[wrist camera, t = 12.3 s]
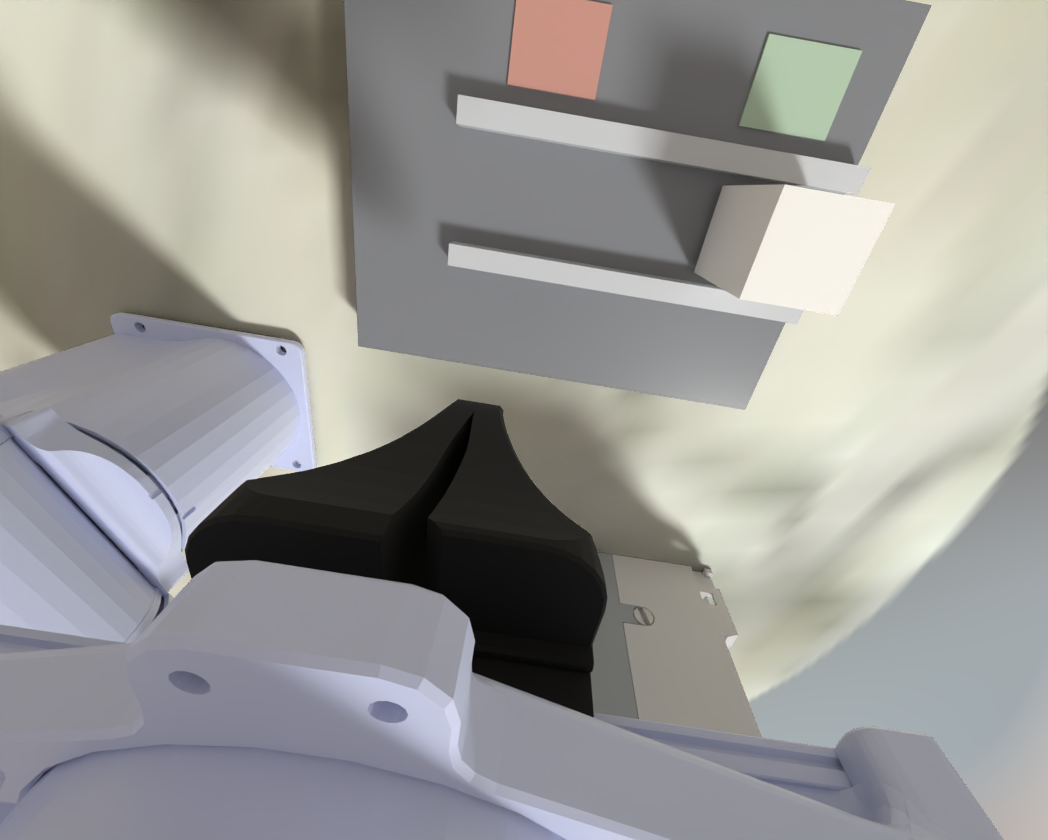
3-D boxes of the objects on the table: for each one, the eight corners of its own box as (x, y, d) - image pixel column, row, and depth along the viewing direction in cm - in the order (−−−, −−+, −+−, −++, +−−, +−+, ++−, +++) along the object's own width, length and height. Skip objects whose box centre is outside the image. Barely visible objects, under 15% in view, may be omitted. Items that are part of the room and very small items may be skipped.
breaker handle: (694, 272, 17) (738, 299, 12) (723, 185, 15) (784, 184, 11) (768, 284, 17) (837, 315, 13) (804, 199, 15) (896, 203, 11)
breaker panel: (374, 332, 21) (350, 351, 18) (366, -69, 14) (326, -123, 12) (729, 391, 21) (752, 417, 19) (885, 27, 15) (953, -6, 12)
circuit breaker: (492, 536, 27) (435, 864, 14) (710, 569, 27) (857, 922, 14) (481, 611, 31) (428, 928, 18) (674, 640, 31) (764, 973, 18)
